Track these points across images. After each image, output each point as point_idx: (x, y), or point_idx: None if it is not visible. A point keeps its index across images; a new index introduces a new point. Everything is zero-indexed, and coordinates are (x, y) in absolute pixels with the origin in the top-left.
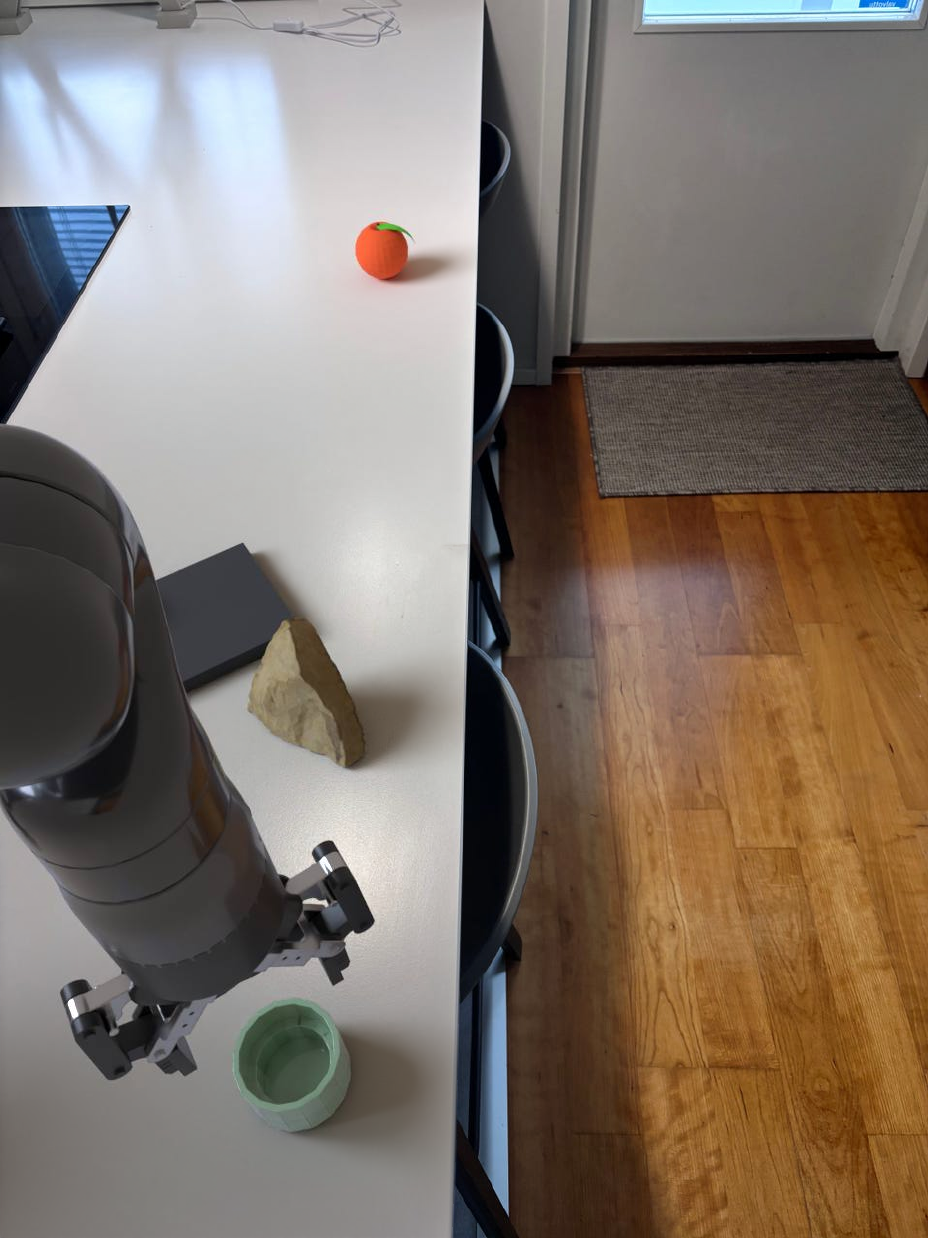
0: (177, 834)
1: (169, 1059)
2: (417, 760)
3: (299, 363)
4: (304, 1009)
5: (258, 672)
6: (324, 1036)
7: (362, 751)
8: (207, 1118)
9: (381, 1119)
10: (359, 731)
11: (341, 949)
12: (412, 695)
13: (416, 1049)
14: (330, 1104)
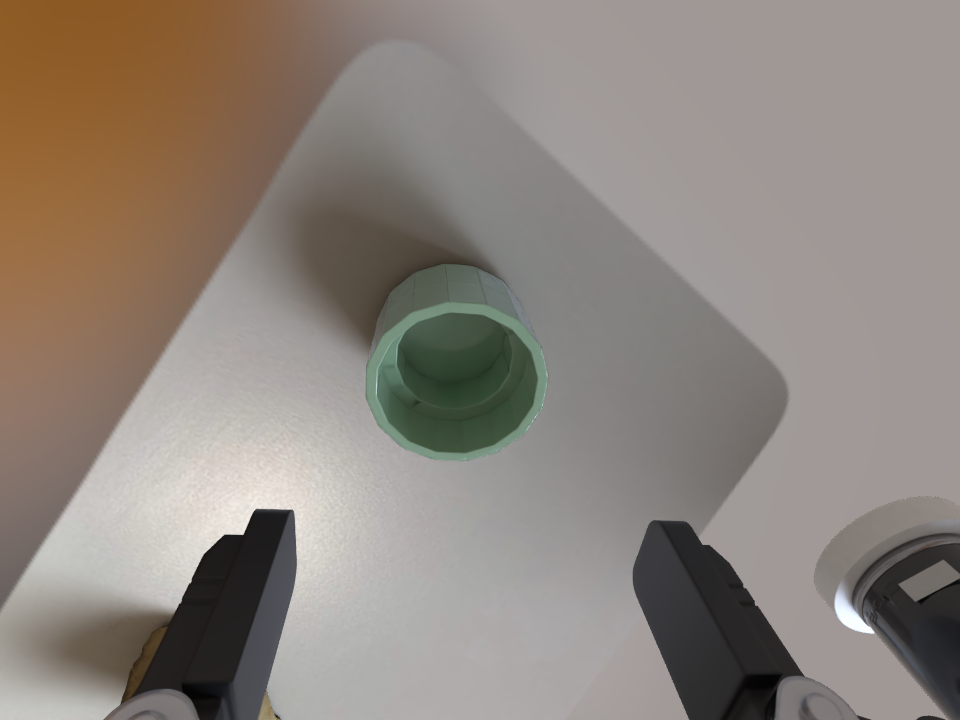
0: None
1: (759, 641)
2: (86, 589)
3: None
4: (398, 421)
5: None
6: (393, 365)
7: (157, 635)
8: (577, 362)
9: (383, 212)
10: (135, 674)
11: (130, 708)
12: (54, 659)
13: (284, 262)
14: (438, 277)
